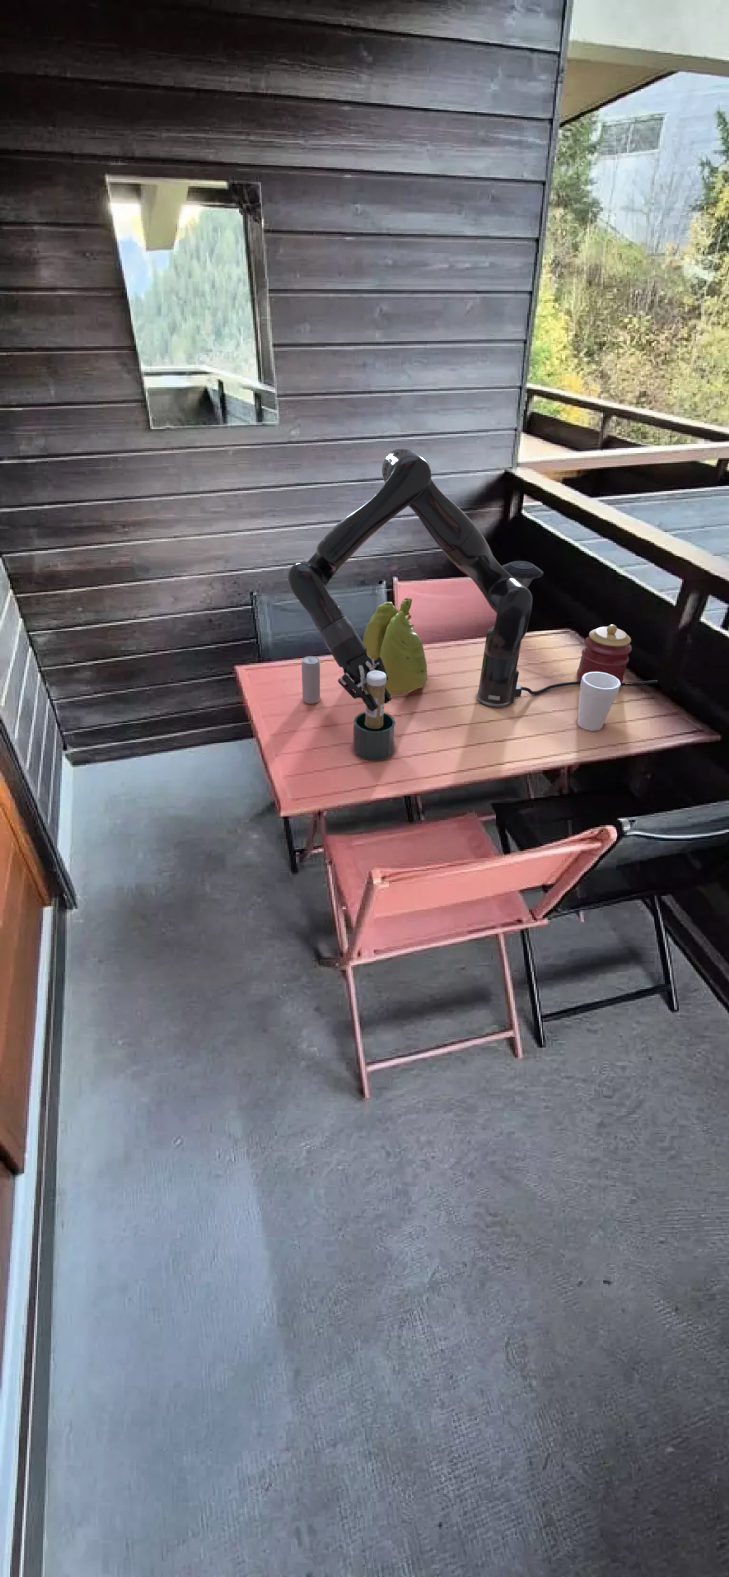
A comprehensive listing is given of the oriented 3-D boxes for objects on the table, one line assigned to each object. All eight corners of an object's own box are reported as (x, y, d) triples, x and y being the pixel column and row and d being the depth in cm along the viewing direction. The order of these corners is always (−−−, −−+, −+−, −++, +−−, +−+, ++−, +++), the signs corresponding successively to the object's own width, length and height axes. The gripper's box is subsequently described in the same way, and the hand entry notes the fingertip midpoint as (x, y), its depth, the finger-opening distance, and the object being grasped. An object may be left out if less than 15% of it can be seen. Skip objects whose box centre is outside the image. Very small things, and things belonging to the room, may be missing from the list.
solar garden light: (533, 663, 212) (553, 565, 194) (511, 676, 205) (528, 575, 187) (500, 650, 218) (516, 554, 201) (477, 662, 211) (491, 564, 193)
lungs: (434, 694, 194) (443, 612, 180) (382, 702, 190) (386, 618, 176) (402, 655, 213) (408, 578, 199) (354, 661, 209) (356, 582, 194)
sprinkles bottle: (387, 726, 167) (390, 676, 159) (371, 731, 165) (373, 680, 156) (376, 718, 170) (379, 668, 162) (360, 722, 168) (362, 672, 159)
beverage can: (306, 706, 187) (306, 665, 180) (299, 698, 190) (298, 657, 183) (323, 702, 189) (323, 662, 182) (315, 694, 192) (315, 654, 185)
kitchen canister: (626, 679, 205) (642, 623, 195) (613, 697, 196) (630, 639, 186) (583, 667, 211) (597, 612, 200) (569, 684, 202) (582, 627, 191)
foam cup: (609, 719, 187) (621, 675, 179) (607, 736, 179) (619, 692, 172) (573, 712, 189) (583, 669, 181) (569, 729, 182) (580, 685, 174)
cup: (388, 737, 176) (390, 709, 171) (397, 759, 168) (399, 730, 163) (350, 740, 174) (350, 712, 169) (357, 762, 166) (358, 733, 162)
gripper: (331, 644, 154) (371, 711, 155) (372, 625, 163) (410, 688, 164) (313, 659, 160) (352, 723, 161) (354, 639, 169) (390, 700, 170)
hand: (381, 705), depth 163 cm, fingers closed on sprinkles bottle, 4 cm apart
